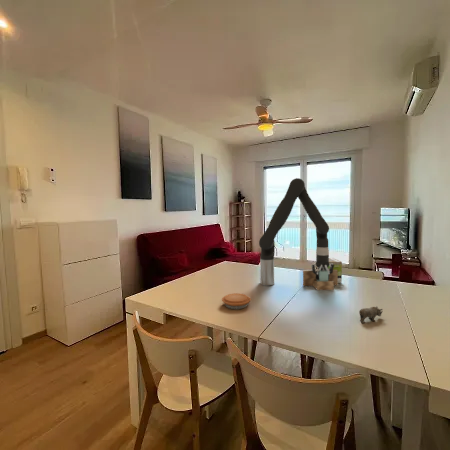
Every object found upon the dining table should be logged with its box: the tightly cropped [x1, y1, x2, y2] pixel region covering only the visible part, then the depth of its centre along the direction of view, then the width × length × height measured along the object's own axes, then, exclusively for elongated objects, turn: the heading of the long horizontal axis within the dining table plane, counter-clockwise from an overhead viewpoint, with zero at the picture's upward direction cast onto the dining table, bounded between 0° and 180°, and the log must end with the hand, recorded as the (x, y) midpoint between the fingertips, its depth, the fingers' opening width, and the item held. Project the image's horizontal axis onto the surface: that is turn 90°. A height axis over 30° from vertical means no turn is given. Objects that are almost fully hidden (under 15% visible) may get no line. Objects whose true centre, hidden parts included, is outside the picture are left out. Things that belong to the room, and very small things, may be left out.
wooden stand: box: [302, 269, 339, 291], centre depth 162 cm, size 22×10×10 cm, turn 88°
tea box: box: [328, 257, 343, 284], centre depth 177 cm, size 15×10×15 cm, turn 179°
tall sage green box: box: [317, 267, 328, 282], centre depth 161 cm, size 5×6×10 cm
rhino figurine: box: [359, 305, 383, 324], centre depth 114 cm, size 4×14×6 cm, turn 109°
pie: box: [221, 292, 252, 310], centre depth 135 cm, size 16×16×5 cm
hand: (322, 279), depth 162 cm, fingers open, 5 cm apart
